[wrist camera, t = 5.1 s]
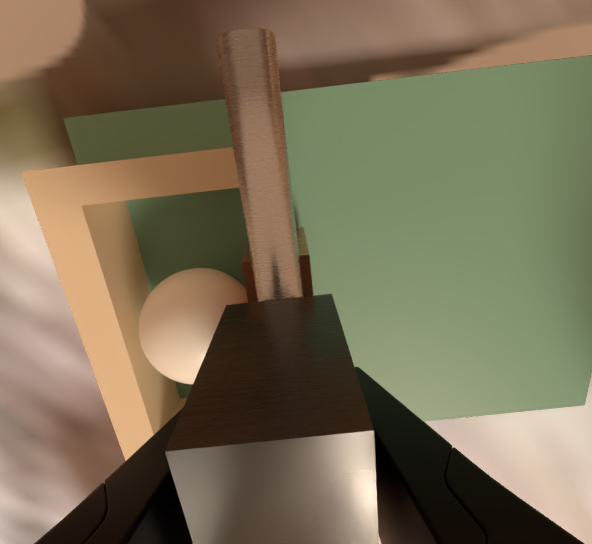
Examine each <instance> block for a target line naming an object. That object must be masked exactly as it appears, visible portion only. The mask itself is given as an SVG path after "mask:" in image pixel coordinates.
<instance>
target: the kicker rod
mask: <svg viewBox="0 0 592 544" xmlns="http://www.w3.org/2000/svg"><path fill="white" fill-rule="evenodd" d="M216 44H217V51H218V57H219V63H220V69H221V76H222V82H223V88H224V94H225V100H226V107H227V113H228V119H229V125H230V132H231V138H232V144H233V150H234V157H235V163H236V169H237V175H238V182H239V188H240V194H241V200H242V207H243V213H244V219H245V225H246V232H247V238H248V244H249V246H248V248H247V251H246V253H245V255H244V257H243V260H242V262H241V263H242V269H243V275H244V281H245V287H246V293H247V298H248V303H241V304H231V305H226V307H225V309H224V312H223V314H222V316H221V319H220V321H219V323H218V326H217V328H216V331H215V333H214V335H213V338H212V340H211V343H210V345H209V347H208V350H207V352H206V354H205V357H204V359H203V362H202V364H201V366H200V369H199V371H198V374H197V376H196V378H195V381H194V383H193V385H192V388H191V390H190V393H189V395H188V397H187V400H186V402H185V405H184V407H183V409H182V412H181V414H180V417H179V419H178V421H177V424H176V426H175V428H174V431H173V433H172V436H171V438H170V440H169V443H168V445H167V448H166V450H165V454H166V457H167V460H168V464H169V467H170V470H171V473H172V477H173V480H174V483H175V486H176V490H177V493H178V496H179V499H180V503H181V506H182V509H183V512H184V516H185V519H186V522H187V525H188V529H189V532H190V535H191V538H192V542H193V544H379V535H378V512H377V488H376V464H375V441H374V429H373V425H372V422H371V419H370V416H369V412H368V409H367V406H366V403H365V399H364V396H363V393H362V390H361V386H360V383H359V380H358V377H357V374H356V370H355V367H354V364H353V361H352V357H351V354H350V351H349V348H348V344H347V341H346V338H345V335H344V331H343V328H342V325H341V322H340V318H339V315H338V312H337V309H336V305H335V302H334V299H333V296H332V294H324V295H314V296H313V286H312V276H311V266H310V256H309V251H308V246H307V241H306V236H305V231H304V227H300V228H296V223H295V214H294V205H293V196H292V187H291V178H290V169H289V160H288V151H287V142H286V133H285V124H284V115H283V106H282V97H281V88H280V79H279V70H278V61H277V52H276V43H275V35H274V33H273V32H271V31H269V30H266V29H260V28H244V29H237V30H232V31H229V32H226V33H223V34H221V35H220V36H218V37H217V39H216Z"/></svg>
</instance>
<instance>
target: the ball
mask: <svg viewBox="0 0 592 544" xmlns="http://www.w3.org/2000/svg"><path fill="white" fill-rule="evenodd" d="M241 303H248V298H247V293H246V288H245V287H244V286H243V285H242V284H241V283H240V282H239V281H238V280H236V279H235V278H233V277H232V276H230V275H228V274H226V273H224V272H221V271H219V270H215V269H210V268H192V269H187V270H183V271H180V272H177V273H175V274H173V275H171V276H169V277H167V278H166V279H165V280H163V281H162V282H161V283H160V284H158V285H157V286H156V287H155V288H154V289H153V291H152V292H151V293H150V294H149V296H148V298H147V299H146V301H145V303H144V305H143V308H142V310H141V313H140V317H139V327H138V331H139V339H140V344H141V347H142V349H143V352H144V354H145V356H146V357H147V359H148V360H149V362H150V363H151V364H152V366H153V367H154V368H155V369H156V370H158V371H159V372H160V373H162V374H163V375H164V376H166V377H168V378H170V379H172V380H174V381H177V382H181V383H185V384H193V383H194V381H195V378H196V376H197V374H198V371H199V369H200V366H201V364H202V362H203V359H204V357H205V354H206V352H207V350H208V347H209V345H210V343H211V340H212V338H213V335H214V333H215V331H216V328H217V326H218V323H219V321H220V319H221V316H222V314H223V312H224V309H225V307H226V305H231V304H241Z"/></svg>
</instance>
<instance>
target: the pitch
mask: <svg viewBox="0 0 592 544" xmlns="http://www.w3.org/2000/svg"><path fill="white" fill-rule="evenodd" d="M281 97H282V106H283V115H284V124H285V133H286V142H287V151H288V160H289V169H290V178H291V187H292V196H293V205H294V214H295V223H296V228H300V227H304V231H305V236H306V241H307V246H308V251H309V256H310V266H311V276H312V286H313V296H314V295H324V294H332V296H333V299H334V302H335V305H336V309H337V312H338V315H339V318H340V322H341V325H342V328H343V331H344V335H345V338H346V341H347V344H348V348H349V351H350V354H351V357H352V361H353V364H354V367H359V368H361V369H362V370H363V371H364V372H365V373H367V374H368V375H369V376H370V377H371V378H373V379H374V380H375V381H376V382H377V383H378V384H380V385H381V386H382V387H383V388H384V389H386V390H387V391H388V392H389V393H390V394H392V395H393V396H394V397H395V398H396V399H397V400H399V401H400V402H401V403H402V404H403V405H405V406H406V407H407V408H408V409H409V410H411V411H412V412H413V413H414V414H415V415H416V416H418V417H419V418H420V419H421V420H422V421H433V420H443V419H453V418H463V417H473V416H482V415H492V414H502V413H512V412H522V411H532V410H542V409H551V408H561V407H571V406H581V405H585V401H586V397H587V392H588V387H589V382H590V378H591V373H592V55H589V56H581V57H572V58H563V59H555V60H547V61H539V62H530V63H522V64H513V65H505V66H497V67H488V68H480V69H471V70H464V71H454V72H446V73H437V74H429V75H421V76H412V77H404V78H395V79H387V80H379V81H370V82H362V83H353V84H345V85H337V86H328V87H320V88H311V89H303V90H295V91H286V92H281ZM63 119H64V123H65V126H66V129H67V133H68V136H69V139H70V142H71V146H72V149H73V152H74V155H75V159H76V162H77V165H75V166H67V167H58V168H49V169H41V170H32V171H24V172H21V173H22V176H23V179H24V182H25V185H26V187H27V190H28V193H29V196H30V198H31V201H32V204H33V207H34V209H35V212H36V215H37V218H38V220H39V223H40V226H41V229H42V232H43V234H44V237H45V240H46V243H47V245H48V248H49V251H50V254H51V256H52V259H53V262H54V265H55V267H56V270H57V273H58V276H59V278H60V281H61V284H62V287H63V290H64V292H65V295H66V298H67V301H68V303H69V306H70V309H71V312H72V314H73V317H74V320H75V323H76V325H77V328H78V331H79V334H80V337H81V339H82V342H83V345H84V348H85V350H86V353H87V356H88V359H89V361H90V364H91V367H92V370H93V372H94V375H95V378H96V381H97V383H98V386H99V389H100V392H101V395H102V397H103V400H104V403H105V406H106V408H107V411H108V414H109V417H110V419H111V422H112V425H113V428H114V430H115V433H116V436H117V439H118V442H119V444H120V447H121V450H122V453H123V455H124V458H125V461H126V460H127V459H128V458H130V457H131V456H132V455H133V454H134V453H135V452H136V451H137V450H138V449H139V448H140V447H141V446H142V445H143V444H144V443H145V442H147V441H148V440H149V439H150V438H151V437H152V436H153V435H154V434H155V433H156V432H157V431H158V430H159V429H160V428H161V427H163V426H164V425H165V424H166V423H167V422H168V421H169V420H170V419H171V418H172V417H173V416H174V415H175V414H176V413H177V412H179V411H180V410H181V409H182V408H183V407H184V405H185V402H186V400H187V397H188V395H189V393H190V390H191V388H192V385H193V384H185V383H181V382H177V381H174V380H172V379H170V378H168V377H166V376H164V375H163V374H162V373H160V372H159V371H158V370H156V369H155V368H154V367H153V366H152V364H151V363H150V362H149V360H148V359H147V357H146V356H145V354H144V352H143V349H142V347H141V344H140V339H139V331H138V327H139V317H140V313H141V310H142V308H143V305H144V303H145V301H146V299H147V298H148V296H149V294H150V293H151V292H152V291H153V289H154V288H155V287H156V286H157V285H158V284H160V283H161V282H162V281H163V280H165V279H166V278H167V277H169V276H171V275H173V274H175V273H177V272H180V271H183V270H187V269H192V268H210V269H215V270H219V271H221V272H224V273H226V274H228V275H230V276H232V277H233V278H235V279H236V280H238V281H239V282H240V283H241V284H242V285H243V286H244V287H245V281H244V275H243V269H242V263H241V262H242V260H243V257H244V255H245V253H246V251H247V248H248V246H249V244H248V238H247V232H246V225H245V219H244V213H243V207H242V200H241V194H240V188H239V182H238V175H237V169H236V163H235V157H234V150H233V144H232V138H231V132H230V125H229V119H228V113H227V107H226V100H225V99H219V100H211V101H202V102H194V103H186V104H177V105H169V106H160V107H152V108H144V109H135V110H127V111H118V112H110V113H102V114H93V115H85V116H76V117H68V118H63ZM245 288H246V287H245Z"/></svg>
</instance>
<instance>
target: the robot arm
mask: <svg viewBox="0 0 592 544" xmlns="http://www.w3.org/2000/svg"><path fill="white" fill-rule="evenodd" d="M355 370H356V374H357V377H358V380H359V383H360V386H361V390H362V393H363V396H364V399H365V403H366V406H367V409H368V412H369V416H370V419H371V422H372V425H373V429H374V441H375V464H376V488H377V512H378V533H379V537H380V540H381V543H382V544H584V543H583V542H581V541H580V540H578V539H577V538H576V537H574V536H573V535H571V534H570V533H568V532H567V531H566V530H564V529H563V528H561V527H560V526H558V525H557V524H556V523H554V522H553V521H551V520H550V519H549V518H547V517H546V516H544V515H543V514H541V513H540V512H539V511H537V510H536V509H534V508H533V507H531V506H530V505H529V504H527V503H526V502H524V501H523V500H522V499H520V498H519V497H517V496H516V495H515V494H513V493H512V492H511V491H509V490H508V489H506V488H505V487H504V486H502V485H501V484H500V483H498V482H497V481H496V480H494V479H493V478H491V477H490V476H489V475H488V474H486V473H485V472H484V471H483V470H481V469H480V468H479V467H478V466H477V465H475V464H474V463H473V462H472V461H470V460H469V459H468V458H467V457H465V456H464V455H463V454H462V453H461V452H459V451H458V450H457V449H456V448H452V445H451V444H450V443H449V442H447V441H446V440H445V439H444V438H443V437H441V436H440V435H439V434H438V433H437V432H435V431H434V430H433V429H432V428H431V427H430V426H428V425H427V424H426V423H425V422H424V421H422V420H421V419H420V418H419V417H418V416H416V415H415V414H414V413H413V412H412V411H411V410H409V409H408V408H407V407H406V406H405V405H403V404H402V403H401V402H400V401H399V400H397V399H396V398H395V397H394V396H393V395H392V394H390V393H389V392H388V391H387V390H386V389H384V388H383V387H382V386H381V385H380V384H378V383H377V382H376V381H375V380H374V379H373V378H371V377H370V376H369V375H368V374H367V373H365V372H364V371H363V370H362V369H361V368H359V367H355ZM182 409H183V408H182ZM182 409H181V410H180V411H179V412H177V413H176V414H175V415H174V416H173V417H172V418H171V419H170V420H169V421H168V422H167V423H166V424H165V425H164V426H163V427H161V428H160V429H159V430H158V431H157V432H156V433H155V434H154V435H153V436H152V437H151V438H150V439H149V440H148V441H147V442H145V443H144V444H143V445H142V446H141V447H140V448H139V449H138V450H137V451H136V452H135V453H134V454H133V455H132V456H131V457H130V458H128V459H127V460H126V461H125V462H124V463H123V464H122V465H121V466H120V467H119V468H118V469H117V470H116V471H115V472H114V473H112V474H111V475H110V476H109V477H108V478H107V479H106V480H105V484H104V483H102V484H101V485H100V486H98V487H97V488H96V489H95V490H94V491H93V492H92V493H91V494H90V495H89V496H88V497H87V498H86V499H85V500H83V501H82V502H81V503H80V504H79V505H78V506H77V507H76V508H75V509H73V510H72V511H71V512H70V513H69V514H68V515H67V516H66V517H65V518H64V519H62V520H61V521H60V522H59V523H58V524H57V525H55V526H54V527H53V528H52V529H51V530H50V531H48V532H47V533H46V534H45V535H44V536H43V537H41V538H40V539H39V540H38V541H37V542H36V543H34V544H193V542H192V538H191V535H190V532H189V529H188V525H187V522H186V519H185V516H184V512H183V509H182V506H181V503H180V499H179V496H178V493H177V490H176V486H175V483H174V480H173V477H172V473H171V470H170V467H169V464H168V460H167V457H166V454H165V450H166V448H167V445H168V443H169V440H170V438H171V436H172V433H173V431H174V428H175V426H176V424H177V421H178V419H179V417H180V414H181V412H182Z"/></svg>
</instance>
